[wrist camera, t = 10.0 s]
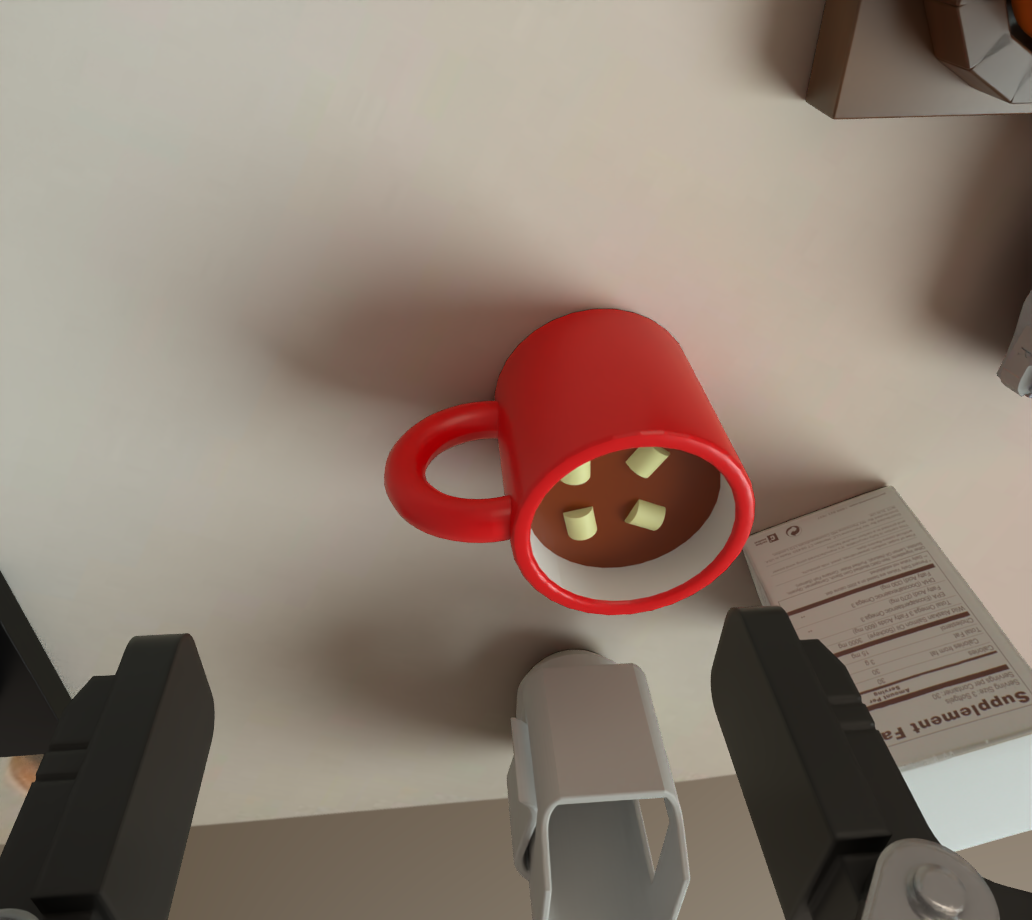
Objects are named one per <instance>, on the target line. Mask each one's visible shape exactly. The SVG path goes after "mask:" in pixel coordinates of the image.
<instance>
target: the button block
mask: <svg viewBox="0 0 1032 920" xmlns="http://www.w3.org/2000/svg"><path fill="white" fill-rule="evenodd" d="M806 102H807V103H809V104H810V105H812V106H813V107H815V108H816V109H818V110H820V111H821V112H823V113H824V114H826V115H827V116H829V117H830V118H832V119H865V118H901V117H937V116H973V115H1009V114H1032V38H1031V37H1030V36H1028V35H1027V34H1026V33H1025V32H1024V31H1023V30H1022V29H1021V28H1020V26H1019V24H1018V23H1017V21H1016V18H1015V16H1014V14H1013V9H1012V5H1011V0H826V3H825V8H824V13H823V18H822V22H821V27H820V32H819V37H818V42H817V47H816V52H815V57H814V62H813V66H812V71H811V76H810V81H809V86H808V91H807V96H806Z"/></svg>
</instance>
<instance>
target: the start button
mask: <svg viewBox="0 0 1032 920" xmlns="http://www.w3.org/2000/svg"><path fill="white" fill-rule="evenodd" d="M1011 5H1012V9H1013V14H1014V16H1015V18H1016V21H1017V23H1018V24H1019V26H1020V28H1021V29H1022V30H1023V31H1024V32H1025V33H1026V34H1027V35H1028V36H1030V37H1031V38H1032V0H1011Z"/></svg>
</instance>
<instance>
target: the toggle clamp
mask: <svg viewBox="0 0 1032 920" xmlns="http://www.w3.org/2000/svg"><path fill="white" fill-rule="evenodd" d="M71 700H72V699H71V697H70V696H69V694H68V692H67V690H66V688H65V687H64V685H63V683H62V681H61V679H60V678H59V676H58V674H57V672H56V670H55V669H54V667H53V665H52V663H51V661H50V660H49V658H48V656H47V654H46V652H45V651H44V649H43V647H42V645H41V643H40V642H39V640H38V638H37V636H36V634H35V632H34V631H33V629H32V627H31V625H30V623H29V622H28V620H27V618H26V616H25V614H24V613H23V611H22V609H21V607H20V605H19V604H18V602H17V600H16V598H15V596H14V595H13V593H12V591H11V589H10V587H9V586H8V584H7V582H6V580H5V578H4V577H3V575H2V573H1V571H0V757H10V756H23V755H36V754H45V752H48V750H49V743H50V740H51V738H52V736H53V733H54V731H55V729H56V726H57V724H58V722H59V719H60V717H61V715H62V712H63V710H64V708H65V707H66V706H67V705H68V704H69V703H70V702H71Z"/></svg>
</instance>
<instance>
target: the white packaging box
mask: <svg viewBox="0 0 1032 920" xmlns="http://www.w3.org/2000/svg"><path fill="white" fill-rule="evenodd" d="M743 552H744V555H745V558H746V561H747V564H748V567H749V570H750V572H751V575H752V578H753V581H754V584H755V587H756V590H757V593H758V596H759V598H760V601H761V603H762V606H780V607H782V608H783V609H784V610H785V611H786V613H787V614H788V616H789V618H790V620H791V623H792V625H793V627H794V629H795V631H796V633H797V635H798V637H799V639H800V640H807V639H819V640H820V641H821V642H822V643H823V644H824V645H825V646H826V647H827V648H828V649H829V650H830V651H831V652H832V653H833V654H834V655H835V656H836V657H837V658H838V659H839V660H840V661H841V662H842V663H843V664H844V665H845V666H846V668H847V670H848V672H849V674H850V676H851V678H852V680H853V681H854V683H855V685H856V687H857V689H858V691H859V693H860V695H861V697H862V698H861V700H862V703H863V704H865V705H866V707H867V708H868V710H869V712H870V714H871V716H872V718H873V720H874V722H875V728H876V730H879V732H880V734H881V735H882V737H883V739H884V741H885V743H886V745H887V747H888V749H889V751H890V753H891V755H892V757H893V759H894V761H895V762H896V764H897V766H898V768H899V770H900V772H901V774H902V776H903V778H904V780H905V782H906V784H907V786H908V788H909V789H910V791H911V793H912V795H913V797H914V799H915V801H916V803H917V805H918V807H919V809H920V811H921V813H922V815H923V816H924V818H925V820H926V822H927V824H928V826H929V828H930V829H931V831H932V833H933V834H934V836H935V837H936V838H937V840H938V841H939V842H940V844H941V845H943V846H945V847H947V848H949V849H950V850H952V851H954V852H955V851H959V850H962V849H966V848H969V847H973V846H976V845H980V844H983V843H987V842H990V841H994V840H997V839H1001V838H1004V837H1008V836H1011V835H1015V834H1018V833H1022V832H1026V831H1029V830H1032V669H1031V668H1030V666H1029V665H1028V664H1027V663H1026V661H1025V660H1024V659H1023V657H1022V656H1021V655H1020V654H1019V652H1018V651H1017V650H1016V648H1015V647H1014V645H1013V644H1012V643H1011V641H1010V640H1009V639H1008V637H1007V636H1006V634H1005V633H1004V632H1003V630H1002V629H1001V628H1000V626H999V625H998V624H997V622H996V621H995V620H994V618H993V617H992V616H991V614H990V613H989V612H988V610H987V609H986V608H985V606H984V605H983V603H982V602H981V601H980V600H979V598H978V597H977V596H976V594H975V593H974V592H973V590H972V589H971V588H970V586H969V585H968V584H967V582H966V581H965V580H964V578H963V577H962V576H961V574H960V573H959V572H958V570H957V569H956V568H955V567H954V565H953V564H952V563H951V561H950V560H949V559H948V557H947V556H946V555H945V553H944V552H943V551H942V550H941V548H940V547H939V546H938V544H937V543H936V542H935V540H934V539H933V537H932V536H931V535H930V534H929V532H928V531H927V530H926V528H925V527H924V526H923V525H922V523H921V522H920V521H919V519H918V518H917V517H916V515H915V514H914V513H913V512H912V510H911V509H910V508H909V507H908V505H907V504H906V503H905V501H904V500H903V498H902V497H901V496H900V494H899V493H898V492H897V491H896V489H895V488H894V487H893V486H889V487H883V488H880V489H878V490H875V491H872V492H868V493H866V494H863V495H860V496H857V497H855V498H852V499H849V500H846V501H843V502H840V503H838V504H835V505H832V506H829V507H827V508H824V509H821V510H818V511H816V512H813V513H810V514H807V515H804V516H802V517H799V518H796V519H793V520H791V521H788V522H785V523H782V524H780V525H777V526H774V527H772V528H769V529H767V530H764V531H761V532H758V533H756V534H753V535H751V536H749V538H748V539H747V541H746V543H745V545H744V547H743Z"/></svg>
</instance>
